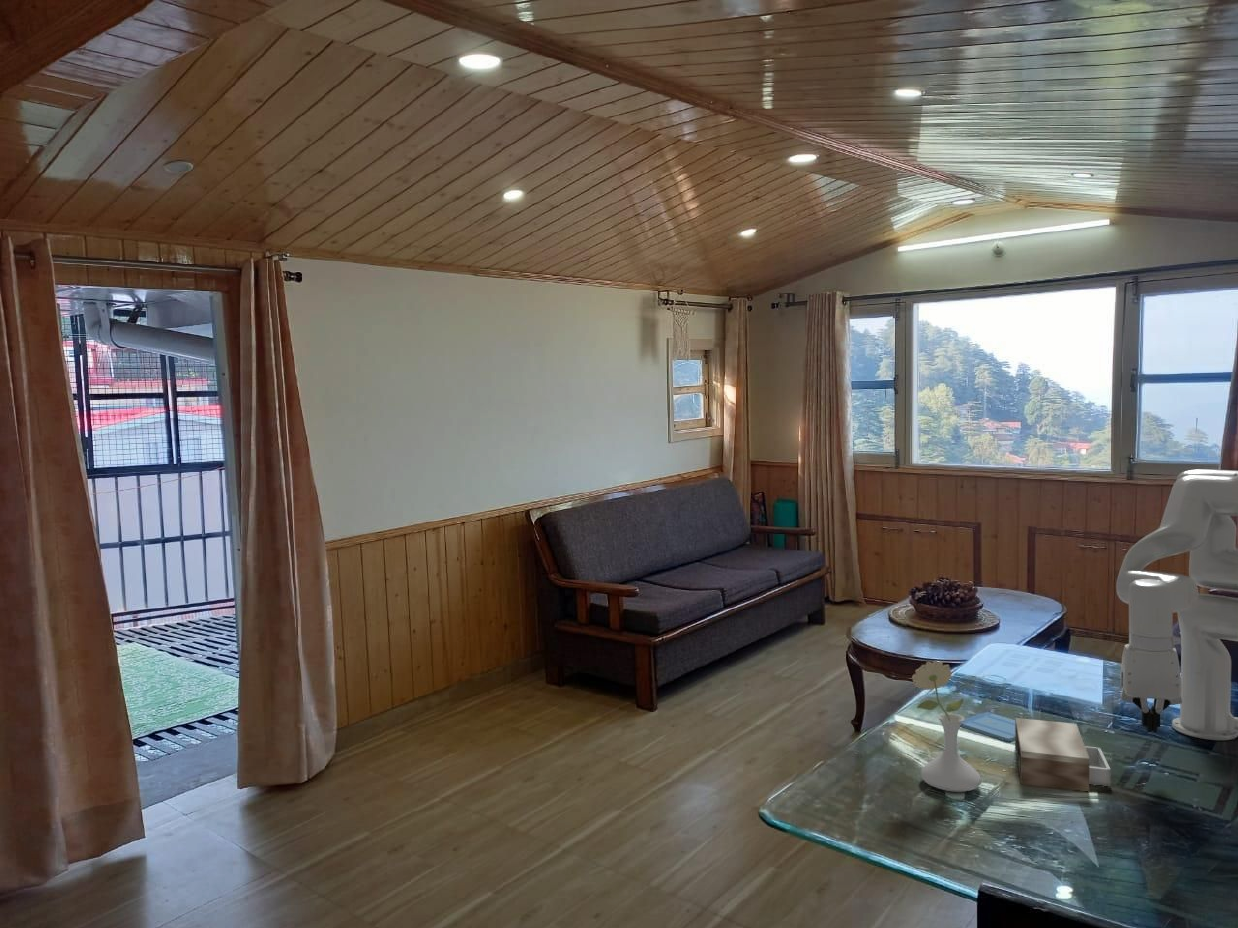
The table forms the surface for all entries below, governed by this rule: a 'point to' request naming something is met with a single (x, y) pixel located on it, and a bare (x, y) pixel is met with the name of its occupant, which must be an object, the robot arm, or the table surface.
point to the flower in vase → (949, 765)
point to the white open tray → (1098, 767)
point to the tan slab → (1051, 754)
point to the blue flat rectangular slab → (991, 725)
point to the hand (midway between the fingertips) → (1150, 729)
